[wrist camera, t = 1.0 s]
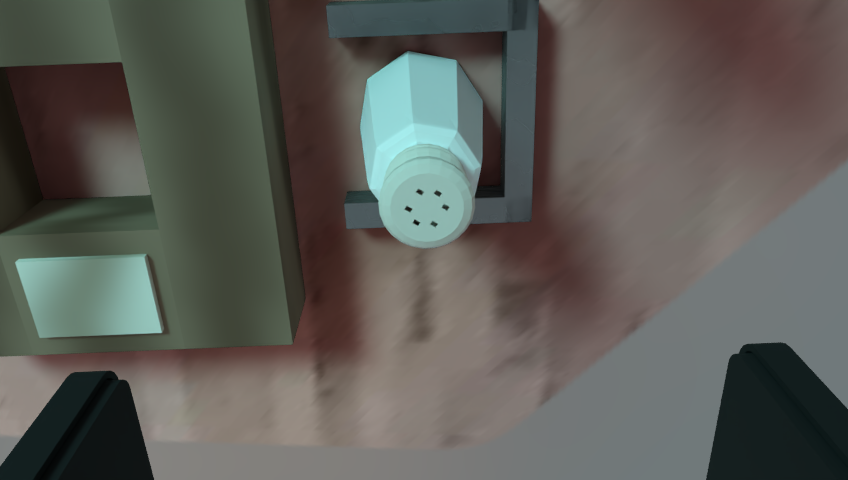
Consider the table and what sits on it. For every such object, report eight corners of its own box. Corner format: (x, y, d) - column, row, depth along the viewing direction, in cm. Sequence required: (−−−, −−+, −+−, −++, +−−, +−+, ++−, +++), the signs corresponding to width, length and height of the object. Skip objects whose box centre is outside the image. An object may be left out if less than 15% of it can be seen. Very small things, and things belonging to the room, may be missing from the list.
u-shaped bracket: (532, -6, 27) (538, -3, 26) (525, 208, 31) (531, 221, 30) (330, 2, 27) (326, 5, 26) (349, 215, 31) (346, 228, 30)
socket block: (253, -116, 25) (225, -124, 22) (305, 298, 33) (291, 348, 29) (-171, -100, 25) (-276, -104, 22) (-22, 312, 33) (-79, 363, 29)
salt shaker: (438, 193, 31) (452, 320, 21) (335, 130, 30) (297, 234, 20) (508, 94, 29) (560, 181, 19) (401, 22, 28) (397, 76, 18)
